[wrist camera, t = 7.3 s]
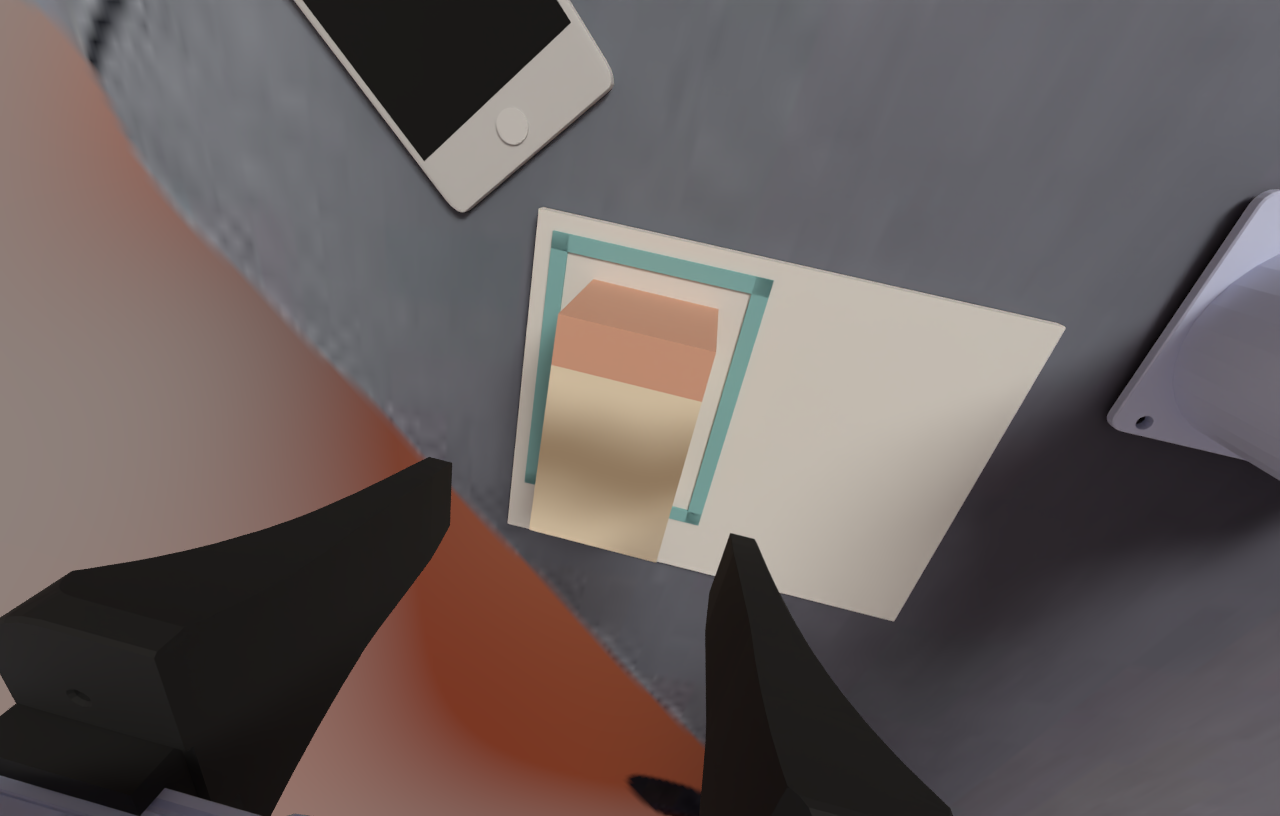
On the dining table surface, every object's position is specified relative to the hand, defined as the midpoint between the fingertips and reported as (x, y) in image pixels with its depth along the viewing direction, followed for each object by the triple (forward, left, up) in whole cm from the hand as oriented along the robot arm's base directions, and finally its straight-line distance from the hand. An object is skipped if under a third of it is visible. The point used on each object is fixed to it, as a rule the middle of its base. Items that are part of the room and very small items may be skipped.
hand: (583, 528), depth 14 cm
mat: (-4, +1, -9) cm, 10 cm away
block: (0, 0, -8) cm, 8 cm away
